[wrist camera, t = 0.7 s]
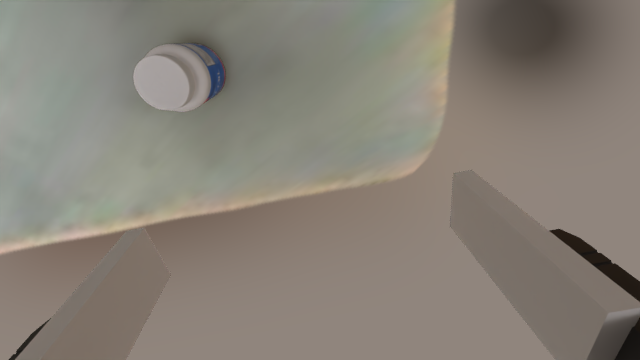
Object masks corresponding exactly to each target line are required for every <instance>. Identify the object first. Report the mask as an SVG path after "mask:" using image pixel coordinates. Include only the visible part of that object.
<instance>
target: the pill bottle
mask: <svg viewBox="0 0 640 360" xmlns="http://www.w3.org/2000/svg"><path fill="white" fill-rule="evenodd" d="M225 77H226V75H225V68H224V65H223V63H222V61H221V59H220V58H219V57H218V55H217V54H216V53H215V52H214V51H213V50H211V49H210V48H208V47H206V46H204V45H201V44H195V43H180V44H164V45H160V46H157V47H155V48H153V49H151V50H150V51H149V52H148V53H147V54H146V56H145V57H144V58H143V59H142V60H140V61H139V62H138V64H137V65H136V67H135V70H134V74H133V80H134V85H135V88H136V90H137V92H138V93H139V95H140V96H141V97H142V99H143V100H144V101H145V102H147V103H148V104H149V105H151V106H153V107H154V108H157V109H160V110H166V111H170V110H172V111H177V112H186V111H191V110H193V109H195V108H197V107H199V106H201V105H202V104H203V103H205V102H206V101H208V100H209V99H211V98H212V97H214V96H215V95H217V94H218V93H219V92H220V90H221V89H222V88H223V86H224V83H225Z"/></svg>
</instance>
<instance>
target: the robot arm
mask: <svg viewBox="0 0 640 360" xmlns="http://www.w3.org/2000/svg"><path fill="white" fill-rule="evenodd" d="M452 185H453V186H452V201H451V216H450V227H451V228H452V229H453V230H454V232H455V233H456V235H457V236H458V237H459V238H460V240H461V241H462V242H463V243H464V245H465V246H466V247H467V248H468V250H469V251H470V252H471V253H472V255H473V256H474V257H475V259H476V260H477V261H478V262H479V264H480V265H481V266H482V267H483V268H484V270H485V271H486V273H487V274H488V275H489V276H490V278H491V279H492V280H493V281H494V283H495V284H496V285H497V286H498V288H499V289H500V290H501V292H502V293H503V294H504V295H505V297H506V298H507V299H508V300H509V302H510V303H511V304H512V306H513V307H514V308H515V309H516V311H517V312H518V313H519V314H520V315H521V317H522V318H523V320H524V321H525V322H526V323H527V325H528V326H529V327H530V328H531V330H532V331H533V332H534V333H535V335H536V336H537V337H538V339H539V340H540V341H541V342H542V343H543V345H544V346H545V347H546V349H547V350H548V351H549V352H550V354H551V355H552V356H553V358H554V359H555V360H640V281H638V280H637V279H636V278H634V277H633V276H632V275H630V274H629V273H627V272H626V271H625V270H623V269H622V268H621V267H619V266H618V265H616V264H613V263H612V262H611V260H609V259H608V258H607V257H605V256H604V255H603V254H601V253H598V252H597V250H595V249H594V248H593V247H592V246H590V245H589V244H587V243H586V242H584V241H583V240H582V239H581V238H579V237H576V236H574V235H572V234H570V233H567V232H565V231H563V230H560V229H556V230H550V231H549V230H547V229H546V228H545V227H543V226H542V225H541V224H540V223H538V222H537V221H536V220H535V219H533V218H532V217H531V216H529V215H528V214H527V213H526V212H524V211H523V210H522V209H520V208H519V207H518V206H517V205H515V204H514V203H513V202H512V201H510V200H509V199H508V198H507V197H505V196H504V195H503V194H502V193H500V192H499V191H498V190H496V189H495V188H494V187H493V186H491V185H490V184H489V183H488V182H486V181H485V180H484V179H482V178H481V177H480V176H479V175H477V174H476V173H475V172H474V171H472V170H468V171H463V172H458V173H453V184H452ZM170 276H171V275H170V272H169V270H168V269H167V267H166V265H165V263H164V262H163V260H162V258H161V256H160V254H159V253H158V251H157V249H156V247H155V246H154V244H153V242H152V241H151V238H150V237H149V235H148V233H147V231H146V230H145V228H141V229H135V230H129V231H126V232H125V234H124V235H123V236H122V237H121V238H120V239H119V240H118V242H117V243H116V244H115V245H114V247H112V249H111V250H110V251H109V252H108V253H107V254H106V255H105V257H104V258H103V259H102V260H101V261H100V262H99V264H98V265H97V266H96V267H95V268H94V269H93V270H92V272H91V273H90V274H89V275H88V276H87V277H86V279H85V280H84V281H83V282H82V283H81V284H80V285H79V287H78V288H77V289H76V290H75V291H74V292H73V293H72V295H71V296H70V297H69V298H68V299H67V300H66V302H65V303H64V304H63V305H62V306H61V307H60V308H59V310H58V311H57V312H56V313H55V314H54V315H53V316H52V318H50V319H49V320H48V321H47V322H45V323H44V324H43V325H42V326H40V327H39V328H38V329H37V330H36V331H34V332H33V333H32V334H31V335H30V336H29V338H28V339H27V340H26V341H25V342H24V343H23V344H22V345H21V346H20V347H19V349H18V350H17V353H16V354H14V355H13V356H12V357H11V358H10V359H9V360H126V359H127V357H128V355H129V353H130V351H131V349H132V348H133V346H134V344H135V342H136V340H137V338H138V336H139V334H140V332H141V331H142V328H143V327H144V325H145V323H146V321H147V319H148V317H149V315H150V314H151V312H152V310H153V308H154V306H155V304H156V302H157V300H158V298H159V296H160V295H161V293H162V291H163V289H164V287H165V285H166V283H167V281H168V279H169V278H170Z"/></svg>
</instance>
